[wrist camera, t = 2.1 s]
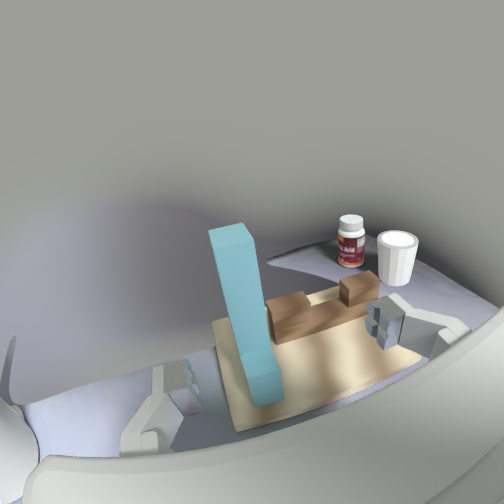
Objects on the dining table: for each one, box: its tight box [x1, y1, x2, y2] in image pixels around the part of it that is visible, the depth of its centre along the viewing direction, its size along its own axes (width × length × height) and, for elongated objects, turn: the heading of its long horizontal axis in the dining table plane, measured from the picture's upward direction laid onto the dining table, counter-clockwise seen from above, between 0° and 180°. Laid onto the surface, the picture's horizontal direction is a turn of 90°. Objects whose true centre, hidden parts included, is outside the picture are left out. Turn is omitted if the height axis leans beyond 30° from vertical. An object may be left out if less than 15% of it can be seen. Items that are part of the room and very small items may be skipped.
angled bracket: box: [209, 223, 284, 408], centre depth 26 cm, size 3×10×16 cm, turn 13°
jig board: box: [211, 270, 422, 432], centre depth 31 cm, size 22×17×6 cm
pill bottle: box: [338, 215, 365, 268], centre depth 47 cm, size 5×5×8 cm
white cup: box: [377, 230, 419, 286], centre depth 41 cm, size 7×7×7 cm
